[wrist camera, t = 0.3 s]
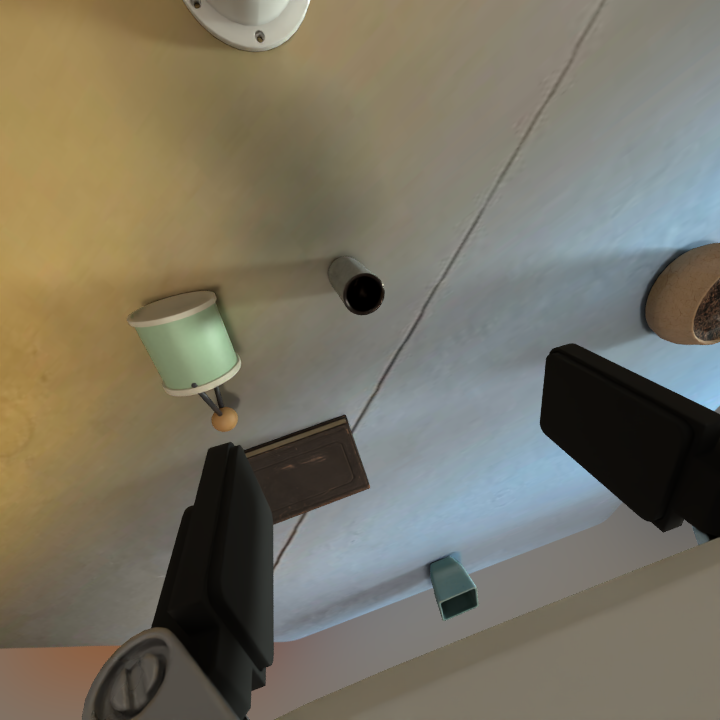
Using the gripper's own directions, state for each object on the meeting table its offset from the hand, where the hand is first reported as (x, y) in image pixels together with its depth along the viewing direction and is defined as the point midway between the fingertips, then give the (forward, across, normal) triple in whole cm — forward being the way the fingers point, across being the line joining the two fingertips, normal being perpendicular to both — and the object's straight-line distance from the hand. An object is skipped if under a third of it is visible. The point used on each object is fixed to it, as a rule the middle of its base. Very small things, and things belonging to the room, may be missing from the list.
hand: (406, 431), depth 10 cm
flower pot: (+37, -14, +77) cm, 87 cm away
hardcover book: (+37, +11, +34) cm, 52 cm away
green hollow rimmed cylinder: (+36, +15, +10) cm, 41 cm away
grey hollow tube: (+36, -4, +4) cm, 37 cm away
